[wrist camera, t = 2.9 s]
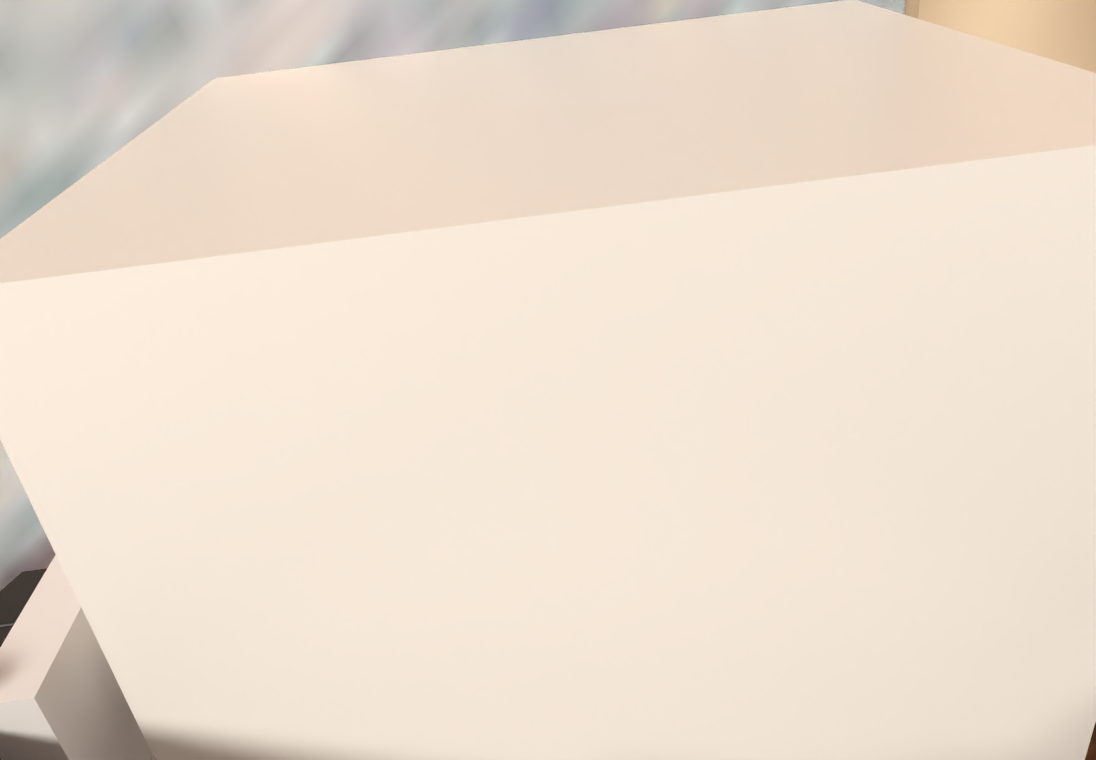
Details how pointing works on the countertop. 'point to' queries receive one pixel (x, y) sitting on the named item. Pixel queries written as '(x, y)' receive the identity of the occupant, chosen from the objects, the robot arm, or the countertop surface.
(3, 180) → the countertop surface
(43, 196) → the countertop surface
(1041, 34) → the board
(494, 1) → the countertop surface
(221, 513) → the cover
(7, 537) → the countertop surface
